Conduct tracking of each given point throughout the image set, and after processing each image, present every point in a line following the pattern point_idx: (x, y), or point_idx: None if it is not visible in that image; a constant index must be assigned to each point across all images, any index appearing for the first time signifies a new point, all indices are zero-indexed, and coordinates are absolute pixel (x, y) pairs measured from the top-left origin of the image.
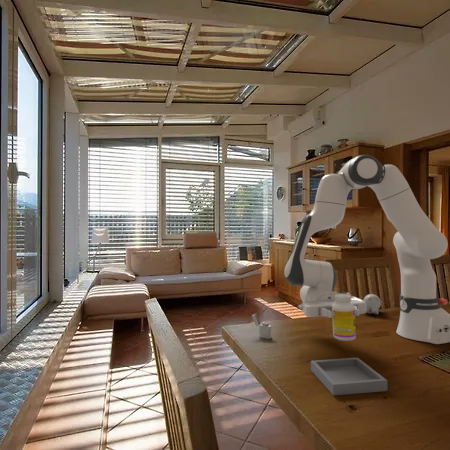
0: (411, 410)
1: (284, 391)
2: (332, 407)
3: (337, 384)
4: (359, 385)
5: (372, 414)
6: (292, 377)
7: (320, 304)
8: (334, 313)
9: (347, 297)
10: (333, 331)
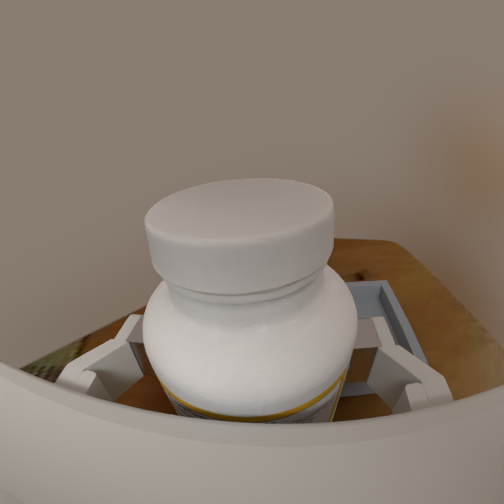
0: None
1: (464, 307)
2: (389, 277)
3: (378, 281)
4: None
5: (335, 265)
6: (460, 350)
7: (466, 436)
8: None
9: (237, 180)
10: None
